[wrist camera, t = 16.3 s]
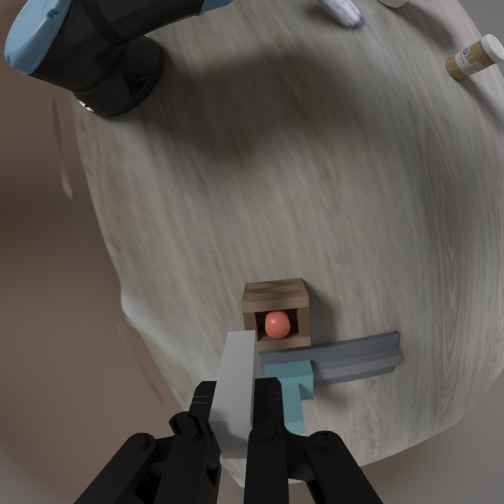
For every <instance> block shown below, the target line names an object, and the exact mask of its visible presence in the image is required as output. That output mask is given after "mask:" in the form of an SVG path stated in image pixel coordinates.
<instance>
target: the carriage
mask: <svg viewBox="0 0 504 504" xmlns="http://www.w3.org/2000/svg"><path fill="white" fill-rule="evenodd" d="M269 377H277V378H278V380H279V381H280V382H281V385H282V396H283V408H284V422H285V427H286V428H287V430H289V431H290V432H291V433H293V434H301V433H304V419H303V412H302V405H301V400H308V399H313V372H312V367H311V364H310V360H306V361H298V362H289V363H279V364H267V365H265V376H264V378H269Z"/></svg>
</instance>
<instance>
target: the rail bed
mask: <svg viewBox="0 0 504 504" xmlns="http://www.w3.org/2000/svg"><path fill="white" fill-rule="evenodd" d="M398 341H399V333H398V331H395V332H390V333H385V334H380V335H375V336H370V337H364V338H359V339H353V340H347V341H341V342H334V343H327V344H320V345H313V346H305V347H296V348H287V349H277V350H266V351H258V353H259V360H260V367H261V377H260V378H264V376H265V365H267V364H279V363H289V362H298V361H306V360H310V364H311V367H312V372H313V387H315V386H322V385H328V384H335V383H341V382H346V381H352V380H357V379H362V378H367V377H372V376H376V375H380V374H385V373H389V372H393V371H394V366H395V365H399V364H400V362H401V357H402V354H401V353H400V352H399V350H398V349H397V348H398Z"/></svg>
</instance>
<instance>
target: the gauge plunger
mask: <svg viewBox="0 0 504 504" xmlns="http://www.w3.org/2000/svg"><path fill="white" fill-rule="evenodd" d="M265 330H266V333H267V334H268V335H269V336H270V337H272V338H282V337H284V336H286V335H287V334H288V333H289V331H290V323H289V317H288V311H287V309H283V310H273V311H265Z"/></svg>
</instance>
